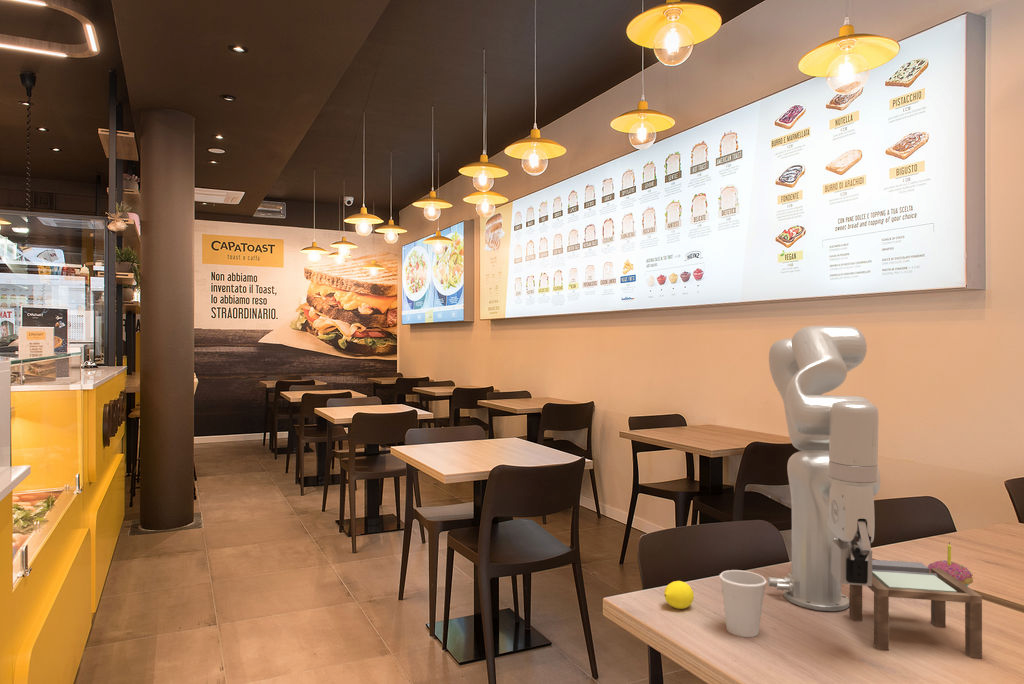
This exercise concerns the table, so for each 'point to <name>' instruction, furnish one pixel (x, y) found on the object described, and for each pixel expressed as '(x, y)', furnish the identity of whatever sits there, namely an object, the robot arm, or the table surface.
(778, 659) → the table surface
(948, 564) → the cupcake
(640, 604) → the table surface
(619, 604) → the table surface
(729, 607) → the dixie cup
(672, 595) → the lemon
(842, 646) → the table surface
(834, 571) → the stone
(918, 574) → the trapdoor
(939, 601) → the stand
